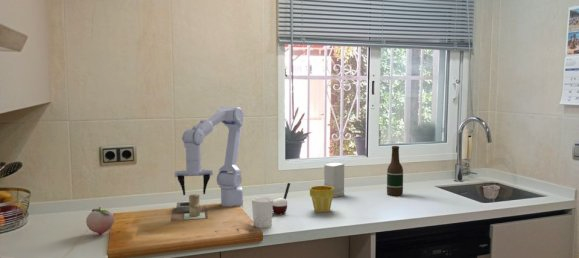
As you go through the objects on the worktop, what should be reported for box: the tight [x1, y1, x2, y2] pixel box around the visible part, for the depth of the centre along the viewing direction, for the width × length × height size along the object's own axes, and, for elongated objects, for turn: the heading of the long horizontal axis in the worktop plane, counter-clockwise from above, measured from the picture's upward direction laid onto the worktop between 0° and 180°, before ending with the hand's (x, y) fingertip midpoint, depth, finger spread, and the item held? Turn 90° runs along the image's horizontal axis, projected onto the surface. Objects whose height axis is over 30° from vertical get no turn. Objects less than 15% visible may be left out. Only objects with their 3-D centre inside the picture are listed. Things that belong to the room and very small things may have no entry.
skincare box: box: [323, 162, 345, 199], centre depth 219 cm, size 8×7×16 cm
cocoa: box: [272, 182, 291, 215], centre depth 187 cm, size 10×6×12 cm, turn 102°
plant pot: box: [309, 185, 334, 213], centre depth 191 cm, size 10×10×10 cm
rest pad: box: [184, 212, 205, 221], centre depth 178 cm, size 8×8×1 cm
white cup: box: [251, 196, 274, 229], centre depth 170 cm, size 8×8×10 cm
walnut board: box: [170, 205, 209, 222], centre depth 183 cm, size 14×21×2 cm, turn 12°
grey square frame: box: [175, 201, 189, 213], centre depth 187 cm, size 8×8×2 cm
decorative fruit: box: [85, 206, 115, 235], centre depth 159 cm, size 9×8×10 cm
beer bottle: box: [386, 145, 404, 198], centre depth 219 cm, size 8×8×24 cm
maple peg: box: [188, 194, 201, 217], centre depth 178 cm, size 4×4×8 cm
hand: (194, 194), depth 177 cm, fingers open, 7 cm apart
